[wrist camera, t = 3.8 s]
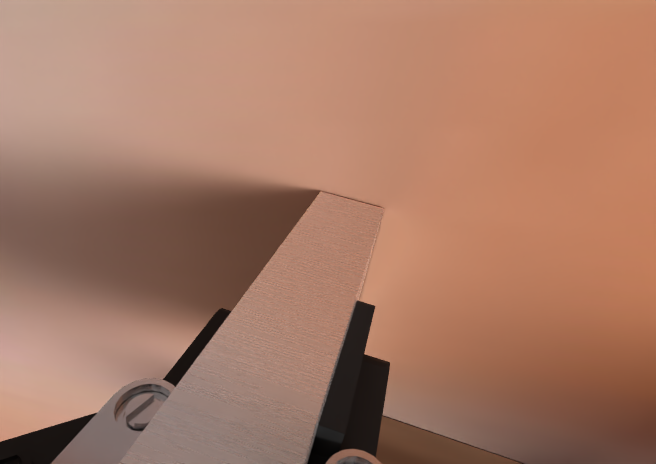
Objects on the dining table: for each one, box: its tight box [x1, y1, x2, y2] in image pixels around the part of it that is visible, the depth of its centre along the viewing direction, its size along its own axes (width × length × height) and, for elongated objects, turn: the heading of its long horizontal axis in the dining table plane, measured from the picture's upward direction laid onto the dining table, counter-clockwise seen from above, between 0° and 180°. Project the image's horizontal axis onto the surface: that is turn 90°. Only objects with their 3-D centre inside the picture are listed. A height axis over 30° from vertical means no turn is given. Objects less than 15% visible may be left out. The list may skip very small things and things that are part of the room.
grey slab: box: [119, 191, 384, 464], centre depth 9 cm, size 6×2×10 cm, turn 170°
